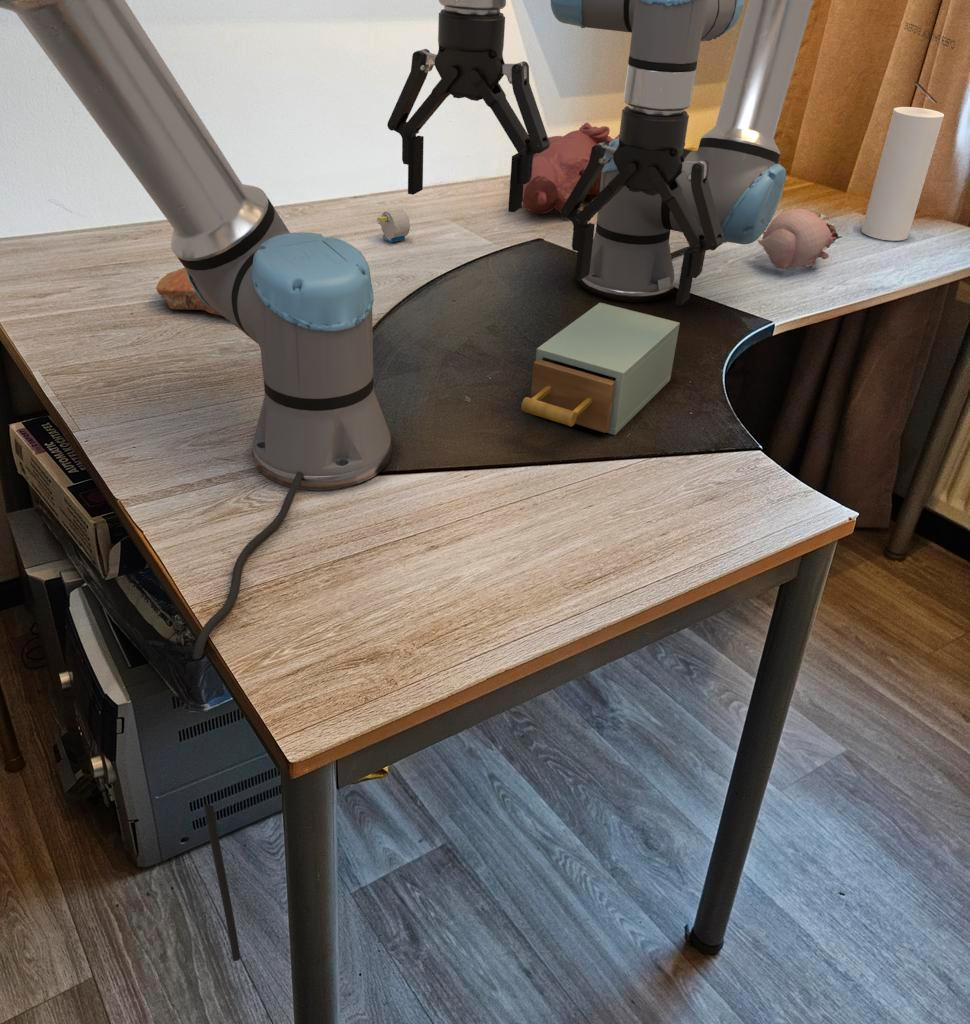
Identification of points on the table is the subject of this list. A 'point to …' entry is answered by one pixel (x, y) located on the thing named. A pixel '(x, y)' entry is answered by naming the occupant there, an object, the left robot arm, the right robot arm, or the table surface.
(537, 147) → the left robot arm
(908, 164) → the tall white tube
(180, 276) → the ceramic shard
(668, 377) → the cabinet
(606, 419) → the drawer
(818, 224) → the toy
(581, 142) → the red pig figurine
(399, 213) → the electric motor
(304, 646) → the table surface
